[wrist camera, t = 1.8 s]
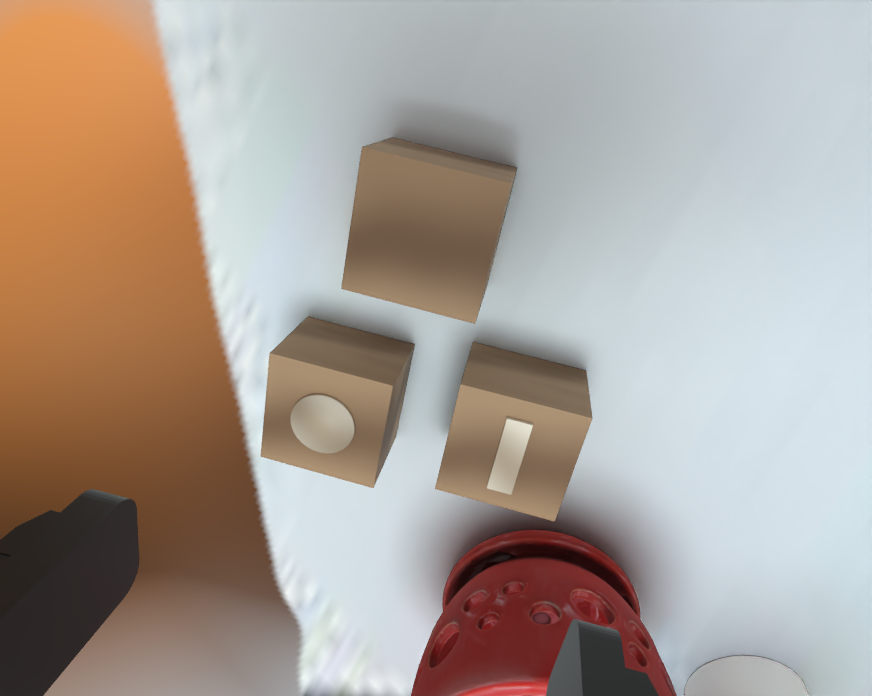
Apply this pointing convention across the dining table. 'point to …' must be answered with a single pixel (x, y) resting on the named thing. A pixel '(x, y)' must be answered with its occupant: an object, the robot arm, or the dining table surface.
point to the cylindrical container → (744, 678)
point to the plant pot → (528, 616)
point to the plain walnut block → (425, 227)
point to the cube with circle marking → (335, 400)
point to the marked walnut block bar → (515, 431)
